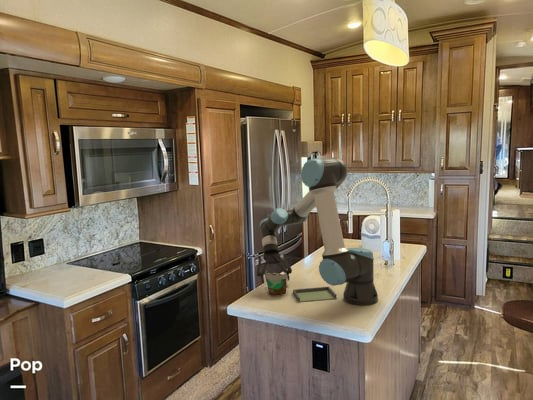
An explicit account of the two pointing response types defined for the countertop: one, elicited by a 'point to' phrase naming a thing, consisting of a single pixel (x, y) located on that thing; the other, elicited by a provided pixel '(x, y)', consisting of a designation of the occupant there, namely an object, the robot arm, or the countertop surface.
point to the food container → (276, 283)
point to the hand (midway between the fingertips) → (276, 287)
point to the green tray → (314, 294)
